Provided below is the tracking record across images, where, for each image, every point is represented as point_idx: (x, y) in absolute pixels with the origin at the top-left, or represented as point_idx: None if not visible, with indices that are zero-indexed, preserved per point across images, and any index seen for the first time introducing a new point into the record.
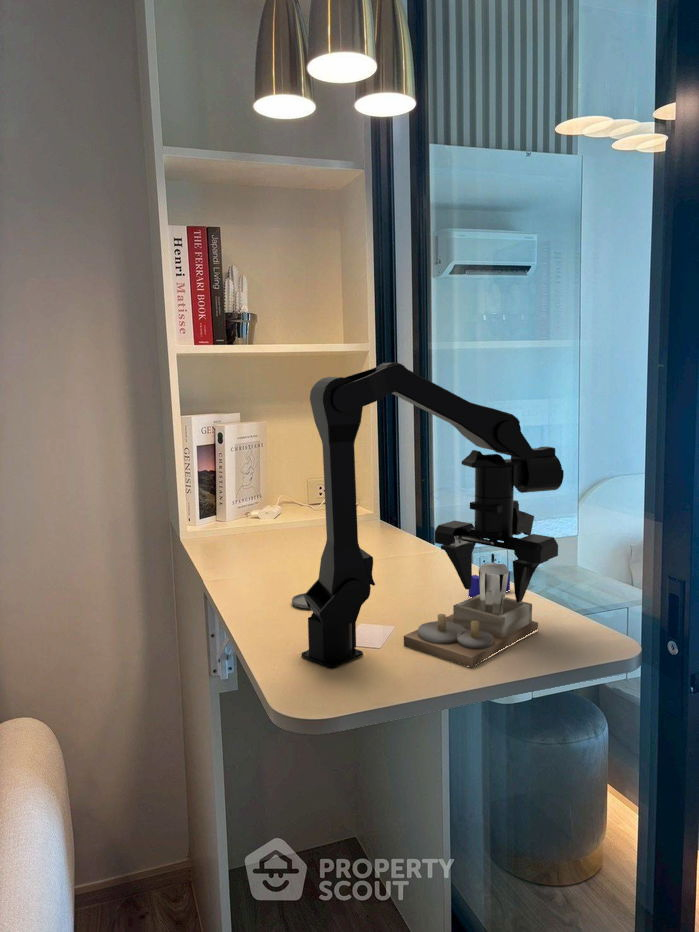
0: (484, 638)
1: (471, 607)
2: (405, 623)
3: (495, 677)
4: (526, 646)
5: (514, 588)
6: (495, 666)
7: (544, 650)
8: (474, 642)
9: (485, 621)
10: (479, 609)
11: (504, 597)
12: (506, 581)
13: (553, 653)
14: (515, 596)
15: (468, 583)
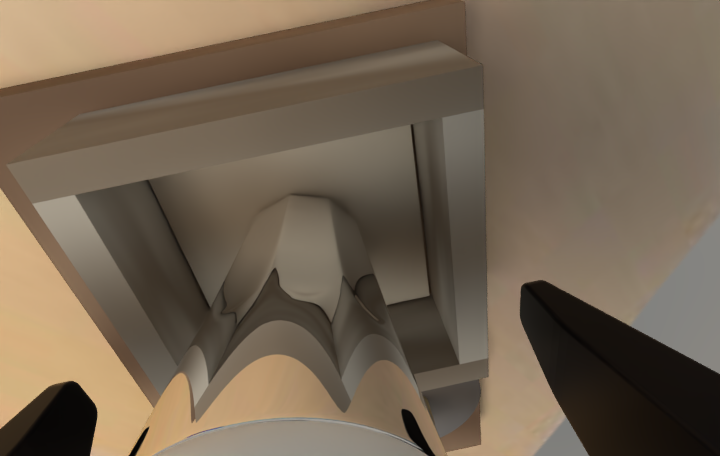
0: (448, 392)
1: (175, 313)
2: (18, 399)
3: (549, 398)
4: (504, 193)
5: (584, 445)
6: (512, 366)
7: (583, 165)
8: (446, 428)
9: None
10: (149, 223)
11: (385, 304)
12: (428, 410)
13: (626, 159)
14: (542, 365)
15: (71, 443)
